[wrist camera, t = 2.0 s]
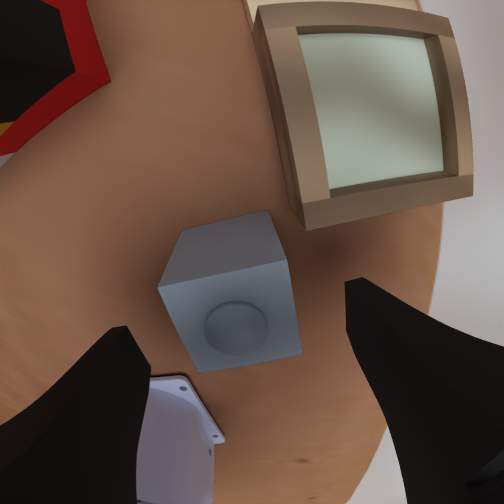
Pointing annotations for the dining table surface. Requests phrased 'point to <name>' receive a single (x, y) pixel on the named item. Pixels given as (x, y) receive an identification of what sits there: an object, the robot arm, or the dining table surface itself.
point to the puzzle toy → (44, 66)
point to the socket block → (363, 106)
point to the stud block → (231, 294)
